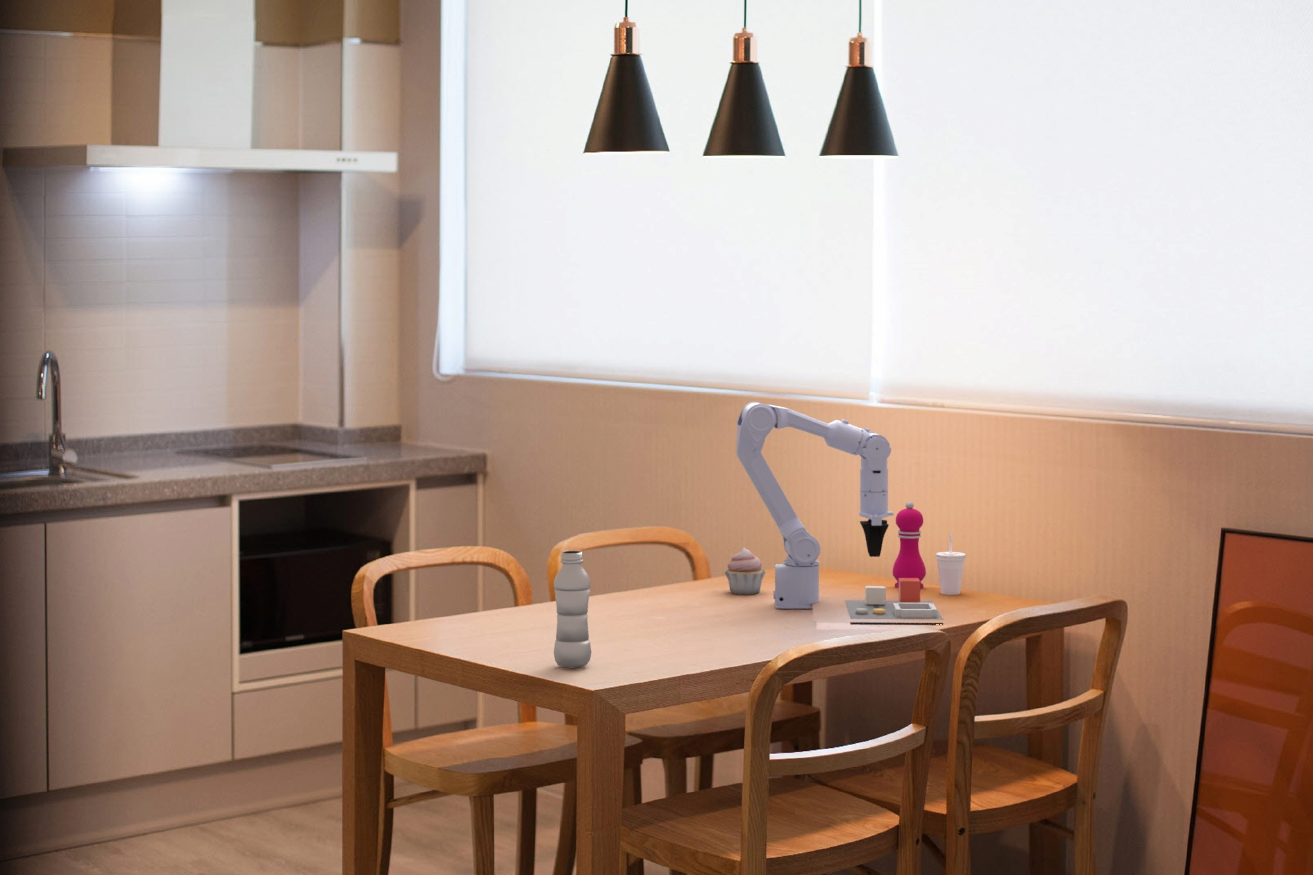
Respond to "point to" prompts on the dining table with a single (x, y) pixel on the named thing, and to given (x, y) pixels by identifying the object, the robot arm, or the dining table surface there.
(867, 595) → the block
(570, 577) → the plastic bottle
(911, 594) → the cap
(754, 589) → the cupcake
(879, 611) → the panel
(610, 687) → the dining table surface
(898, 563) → the pepper mill
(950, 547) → the smoothie
